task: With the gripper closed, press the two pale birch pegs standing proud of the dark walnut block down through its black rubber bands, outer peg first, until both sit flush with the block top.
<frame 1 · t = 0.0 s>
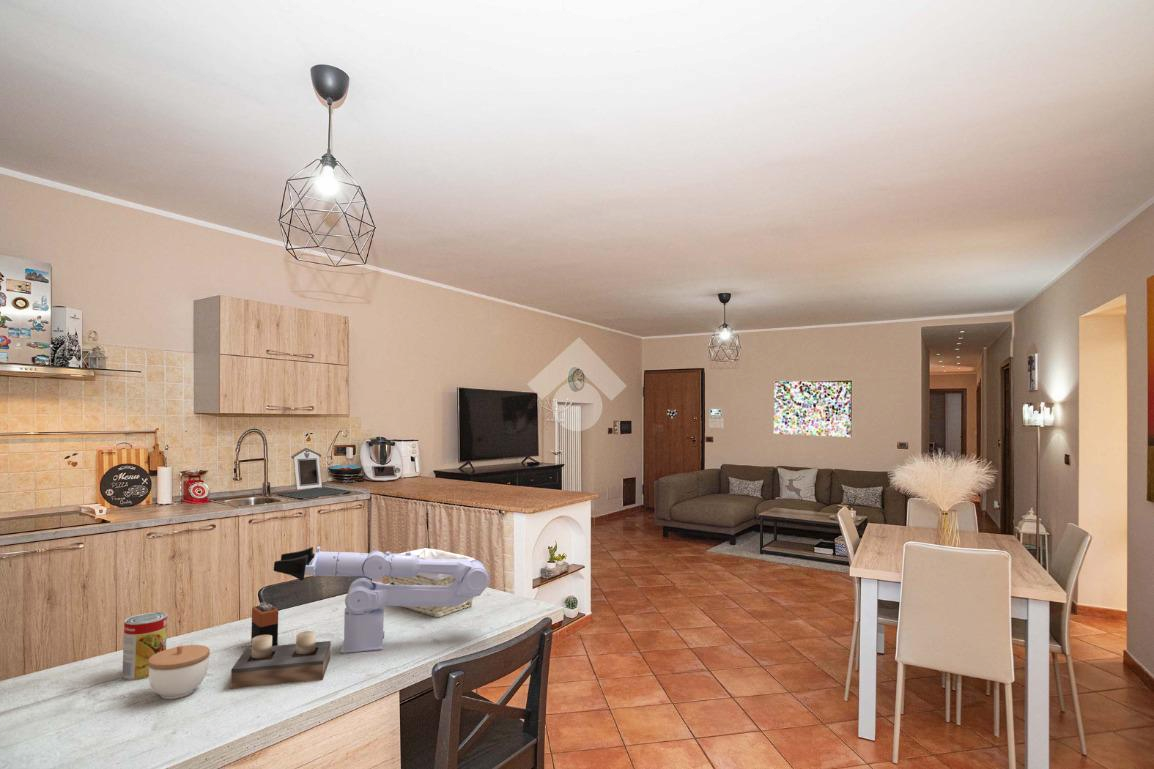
hand: (277, 562, 148), 22 cm above the table, tool horizontal, fingers open, 7 cm apart
inner peg: (305, 642, 138), point 6 cm above the table, slide at 4.0 cm
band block: (283, 672, 137), on the table
canned food: (144, 673, 137), on the table
outer peg: (261, 646, 136), point 6 cm above the table, slide at 4.0 cm
storage basket: (431, 606, 185), on the table
battery: (264, 646, 153), on the table
lidded jar: (178, 693, 127), on the table
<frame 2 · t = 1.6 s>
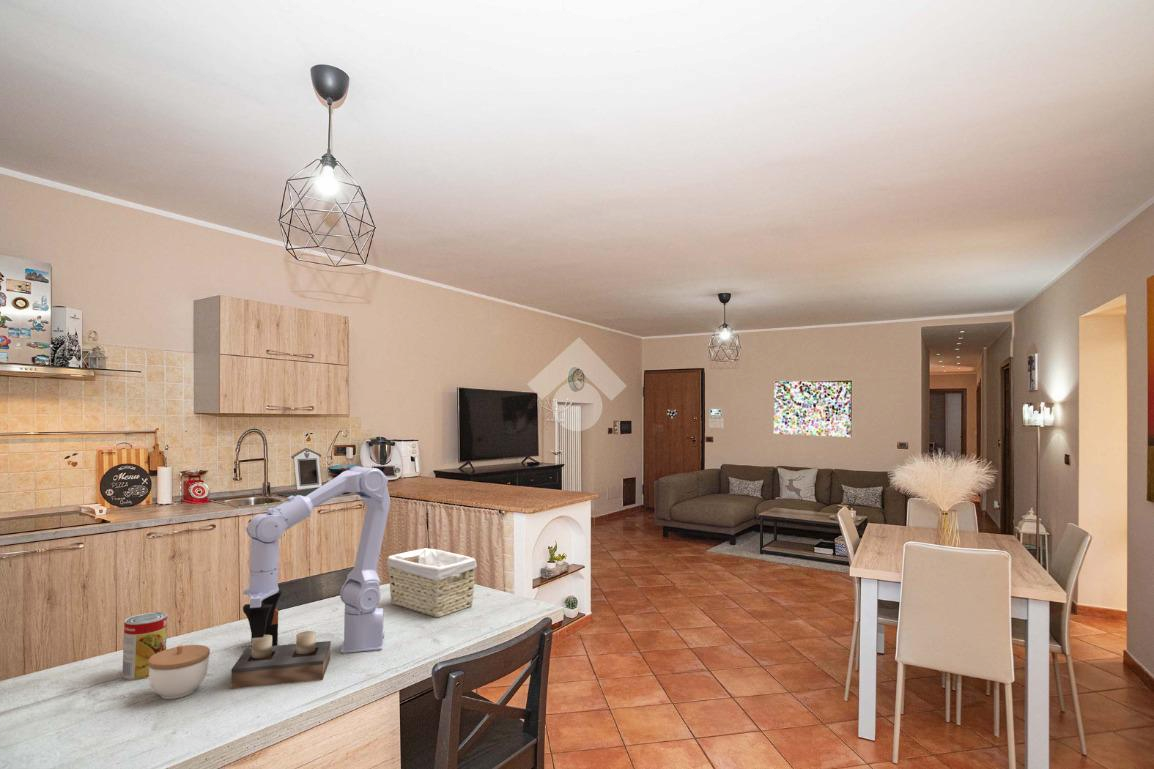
hand: (262, 631, 136), 9 cm above the table, tool pointing down, fingers open, 7 cm apart
nothing on the table moved.
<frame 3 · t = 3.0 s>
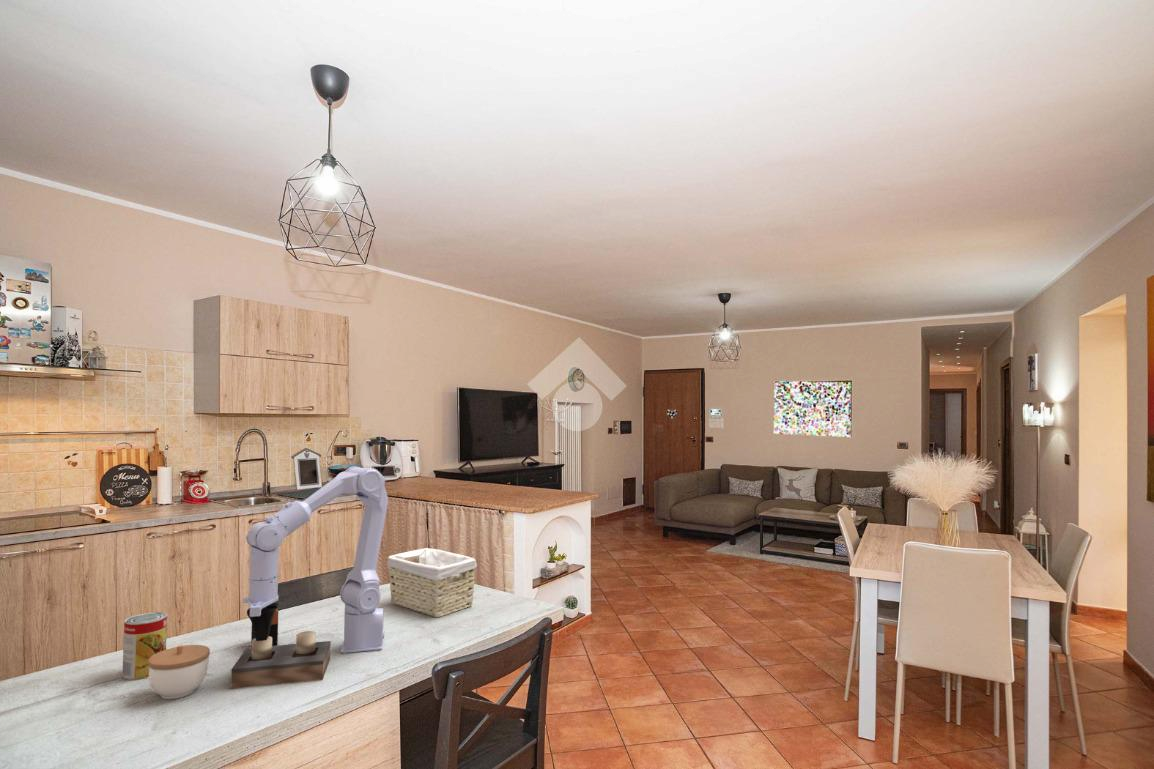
hand: (262, 639, 136), 8 cm above the table, tool pointing down, fingers closed, pressing on outer peg
outer peg: (261, 647, 136), point 6 cm above the table, slide at 3.6 cm, touching gripper
everything else where it was.
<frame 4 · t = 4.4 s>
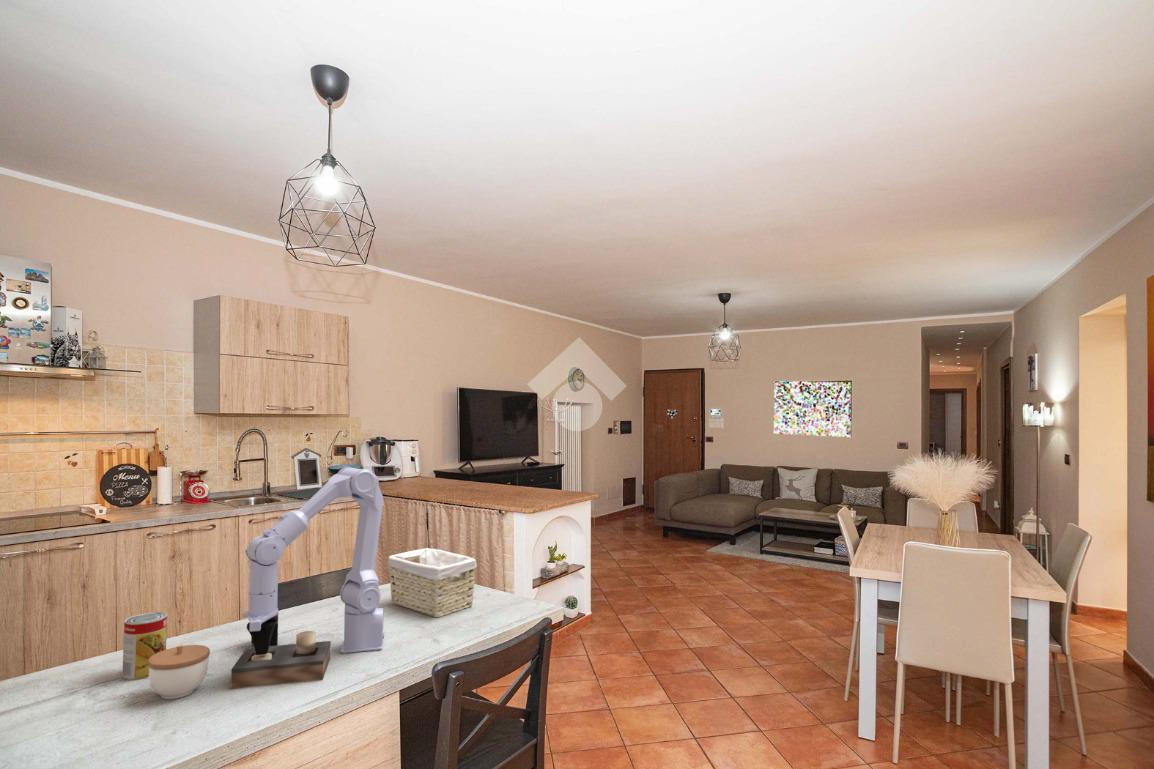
hand: (262, 653, 136), 5 cm above the table, tool pointing down, fingers closed
outer peg: (261, 664, 135), point 2 cm above the table, slide at 0.0 cm
everything else where it was.
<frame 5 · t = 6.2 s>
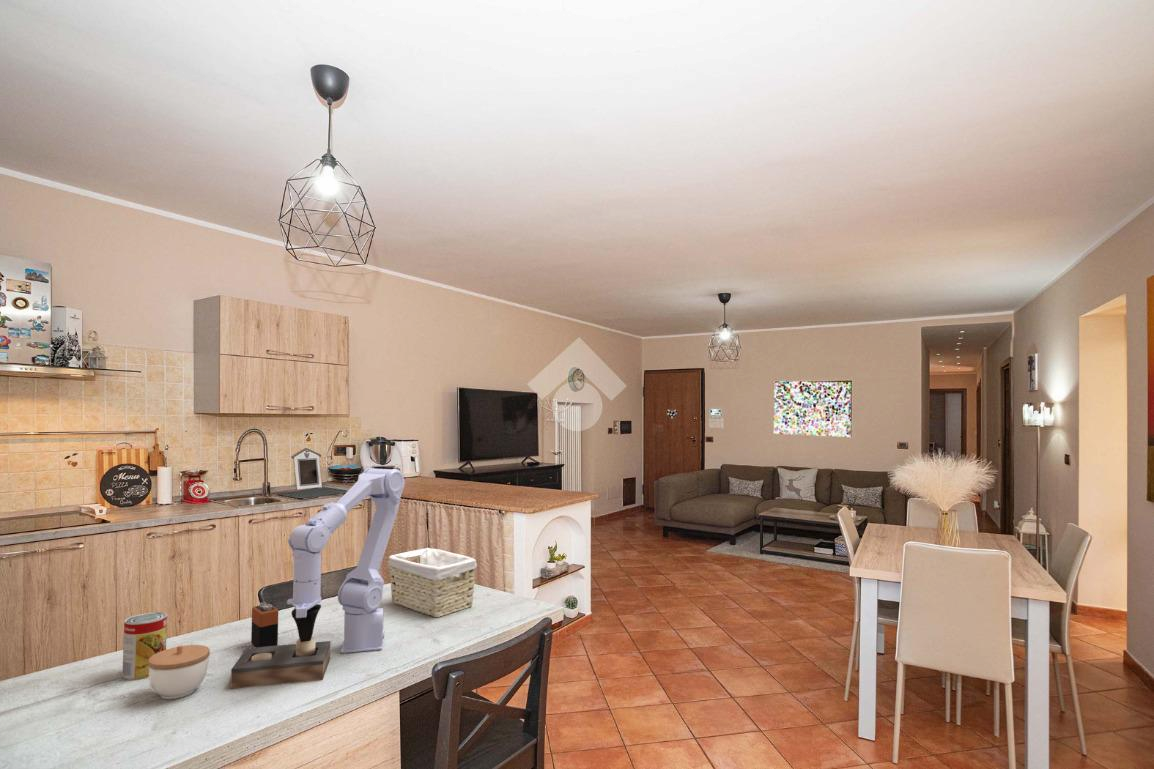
hand: (305, 640, 138), 7 cm above the table, tool pointing down, fingers closed, pressing on inner peg
inner peg: (305, 648, 138), point 5 cm above the table, slide at 2.6 cm, touching gripper
everything else where it was.
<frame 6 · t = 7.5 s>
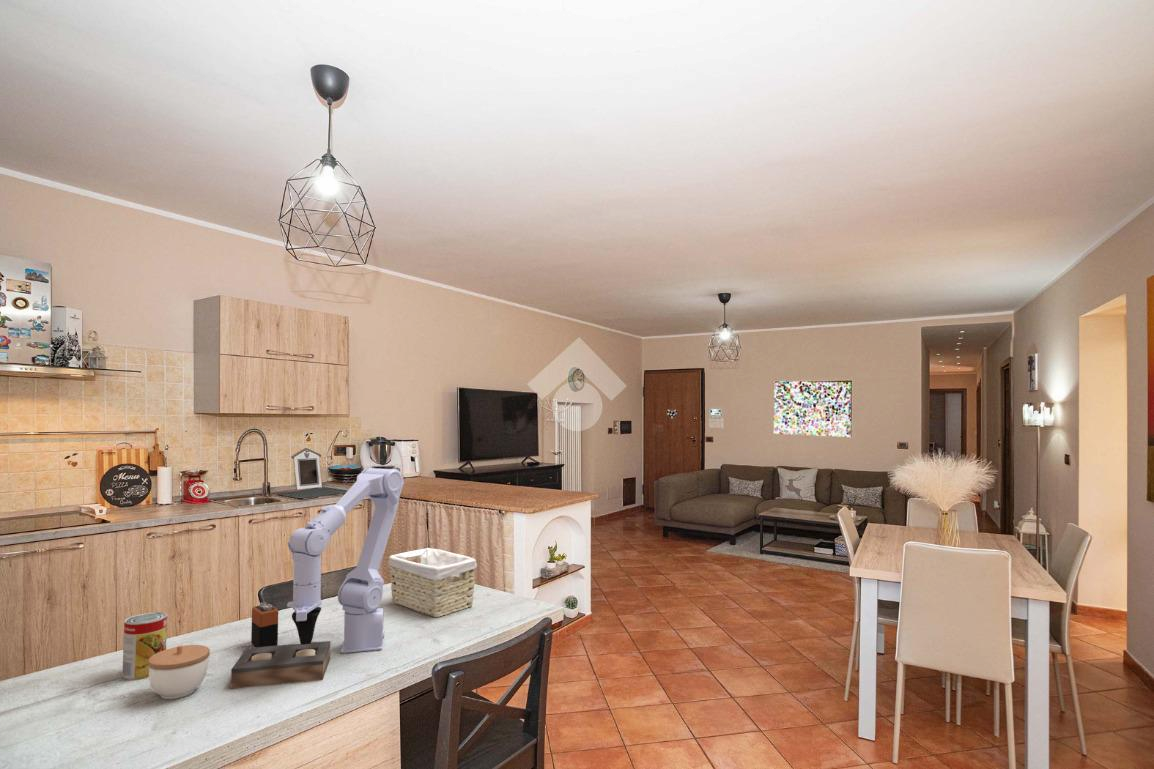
hand: (306, 643, 138), 6 cm above the table, tool pointing down, fingers closed
inner peg: (305, 660, 138), point 2 cm above the table, slide at 0.0 cm
everything else where it was.
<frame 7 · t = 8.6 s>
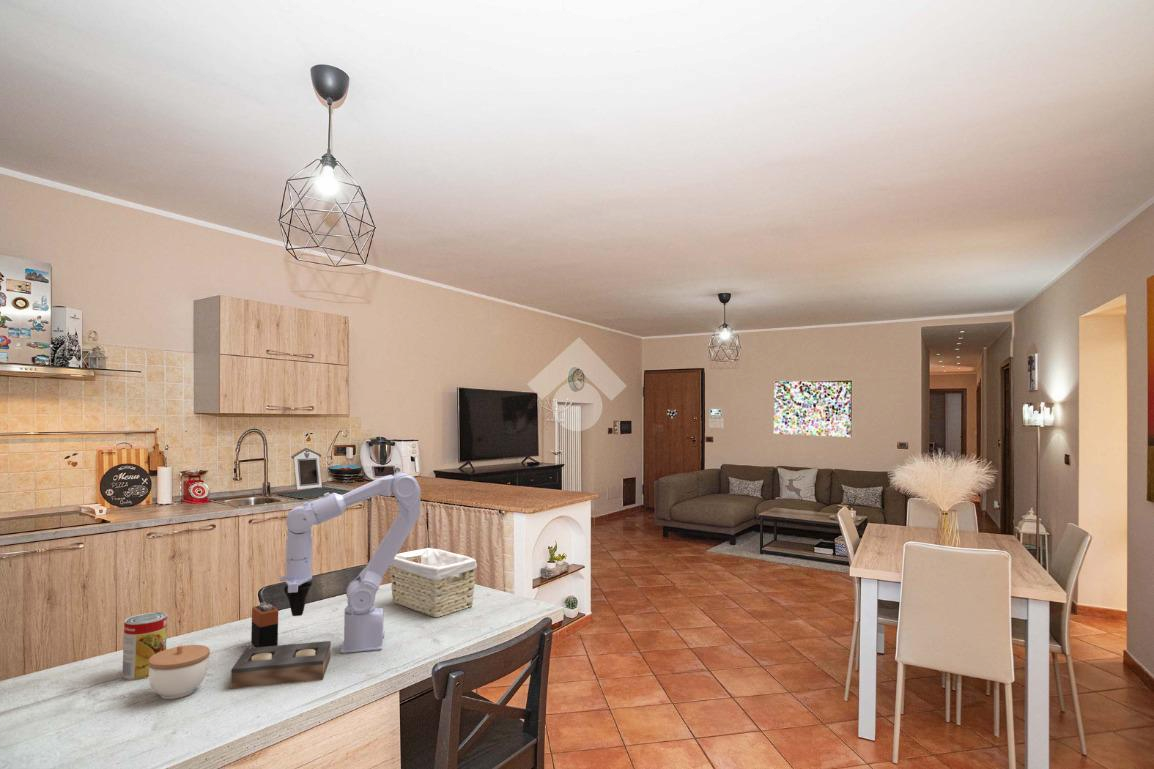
hand: (297, 615, 147), 9 cm above the table, tool pointing down, fingers closed
nothing on the table moved.
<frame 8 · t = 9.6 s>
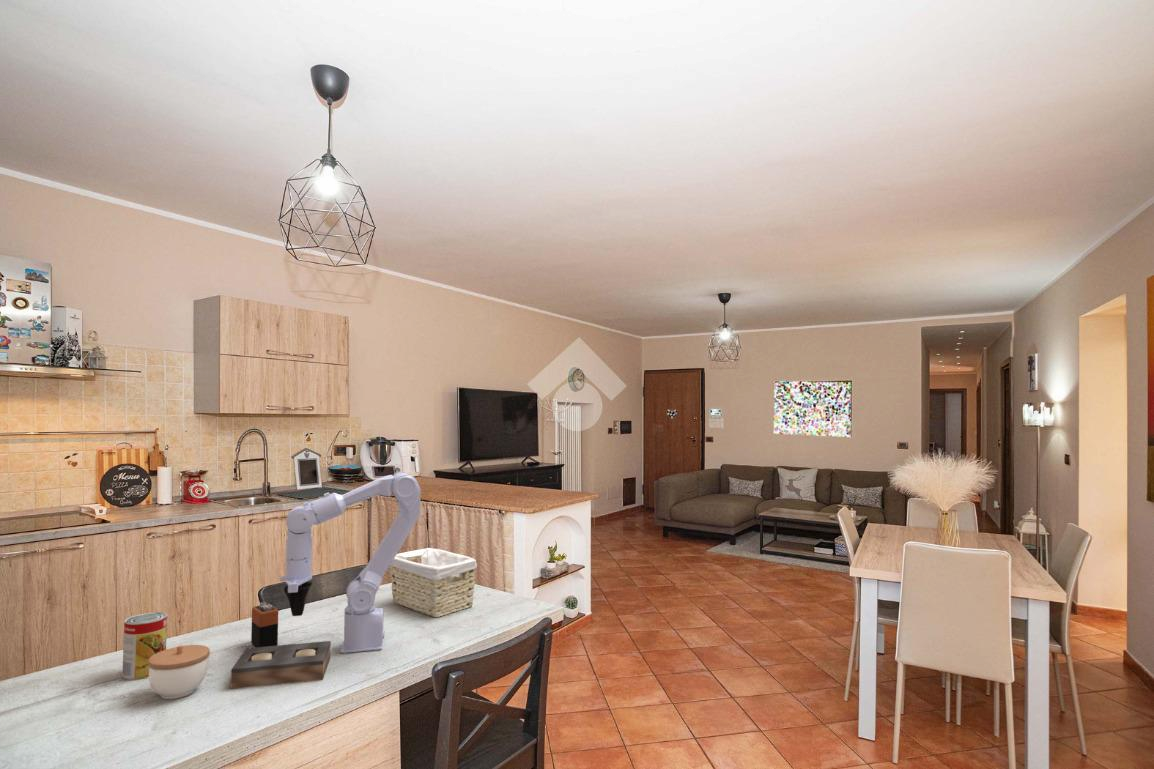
hand: (297, 615, 147), 9 cm above the table, tool pointing down, fingers closed
nothing on the table moved.
at the end: outer peg slide at 0.0 cm; inner peg slide at 0.0 cm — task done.
